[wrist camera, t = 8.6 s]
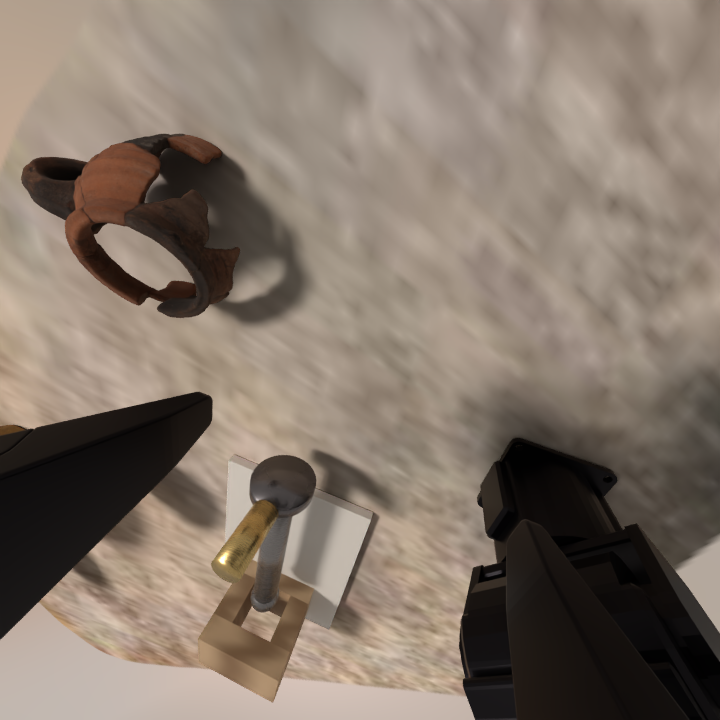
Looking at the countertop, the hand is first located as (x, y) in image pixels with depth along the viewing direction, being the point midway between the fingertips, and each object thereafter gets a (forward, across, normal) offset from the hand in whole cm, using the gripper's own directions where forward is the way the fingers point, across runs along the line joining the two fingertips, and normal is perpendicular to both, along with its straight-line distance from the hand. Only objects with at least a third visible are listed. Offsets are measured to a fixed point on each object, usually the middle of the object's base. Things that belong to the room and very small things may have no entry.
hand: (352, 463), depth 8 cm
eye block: (+12, +5, +33) cm, 35 cm away
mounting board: (+12, +5, +27) cm, 30 cm away
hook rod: (+10, +5, +20) cm, 23 cm away
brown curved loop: (+13, +17, -3) cm, 21 cm away
